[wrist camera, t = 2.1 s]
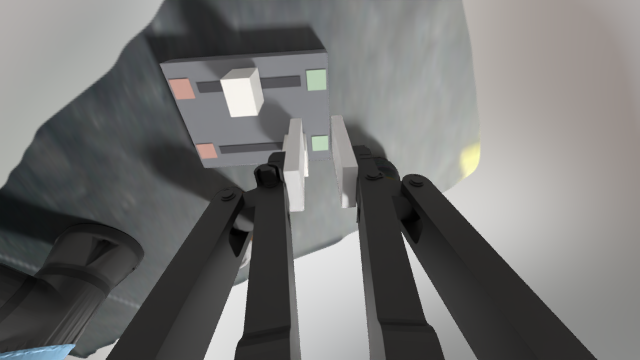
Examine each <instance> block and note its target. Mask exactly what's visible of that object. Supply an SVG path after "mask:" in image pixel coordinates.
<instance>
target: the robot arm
mask: <svg viewBox="0 0 640 360" xmlns="http://www.w3.org/2000/svg"><path fill="white" fill-rule="evenodd" d="M331 138H332V154H333V159H334V165H335V170H336V176H337V182H338V187H339V193H340V198H341V204H342V208H349V207H356V202H357V206H358V207H357V222H356V223H358V228H359V239H360V250H361V261H362V272H363V283H364V293H365V305H366V316H367V327H368V337H369V349H370V360H445V359H444V355H443V352H442V349H441V345H440V342H439V339H438V337H437V334H436V332H435V330H434V329H433V327H432V326H431V325H429V324H428V323H427V321H426V319H425V316H424V313H423V309H422V305H421V302H420V299H419V295H418V291H417V287H416V284H415V280H414V277H413V273H412V269H411V266H410V262H409V259H408V255H407V251H406V248H405V244H404V240H403V237H402V233H403V235H404V237H405V238H406V240H407V242H408V243H409V245H410V247H411V248H412V250H413V252H414V253H415V255H416V257H417V258H418V260H419V262H420V263H421V265H422V267H423V268H424V270H425V272H426V273H427V275H428V277H429V278H430V280H431V282H432V283H433V285H434V287H435V288H436V290H437V292H438V294H439V295H440V297H441V299H442V300H443V302H444V304H445V305H446V307H447V309H448V310H449V312H450V314H451V315H452V317H453V319H454V320H455V322H456V324H457V325H458V327H459V329H460V331H461V332H462V333H463V336H464V337H465V339H466V340H467V342H468V344H469V346H470V347H471V349H472V351H473V352H474V354H475V356H476V357H477V359H478V360H597V359H596V358H595V357H594V356H593V355H592V354H591V353H590V351H588V350H587V348H586V347H585V346H584V345H583V344H582V343H581V342H580V341H579V340H578V339H577V338H576V336H574V334H573V333H572V332H571V331H570V330H569V329H568V328H567V327H566V326H565V325H564V324H563V323H562V322H561V320H560V319H559V318H558V317H557V316H556V315H555V314H554V313H553V312H552V311H551V310H550V309H549V308H548V307H547V306H546V305H545V303H544V302H543V301H542V300H541V299H540V298H539V297H538V296H537V295H536V294H535V293H534V292H533V290H532V289H530V287H529V286H528V285H527V284H526V283H525V282H524V281H523V280H522V279H521V278H520V277H519V276H518V274H517V273H516V272H515V271H514V270H513V269H512V268H511V267H510V266H509V265H508V264H507V263H506V262H505V261H504V260H503V258H502V257H501V256H500V255H499V254H498V253H497V252H496V251H495V250H494V249H493V248H492V247H491V246H490V244H489V243H488V242H487V241H486V240H485V239H484V238H483V237H482V236H481V235H480V234H479V233H478V232H477V231H476V230H475V229H474V227H472V225H470V223H469V222H468V221H467V220H466V219H465V218H464V217H463V216H462V215H461V214H460V212H459V211H458V210H457V209H456V208H455V207H454V206H453V205H452V204H451V203H450V202H449V201H448V200H447V198H446V197H445V196H444V195H443V194H442V193H441V192H440V191H439V190H438V189H437V188H436V187H435V186H434V185H433V183H432V182H431V181H430V180H429V179H427V178H426V177H424V176H422V175H418V174H409V175H406V176H404V177H403V179H402V181H398V180H392V179H388V178H386V176H385V174H384V173H383V172H381V171H379V170H378V168H377V166H376V164H375V161H374V159H373V157H372V155H371V152H370V150H369V149H368V148H367V147H366V146H364V145H361V146H351V143H350V140H349V137H348V134H347V131H346V127H345V124H344V121H343V118H342V115H337V116H331ZM304 165H305V150H304V141H303V131H302V122H301V118H294V119H290V126H289V133H288V141H287V148H286V151H283V152H273V153H272V154H271V155H270V156H269V158H268V163H266V164H262V165H260V166H258V167H257V168H256V169H255V170H254V175H255V179H256V182H257V188H255V189H253V190H250V191H247V192H244V193H242V192H241V190H240V189H238V188H235V187H231V188H226V189H223V190H221V191H220V192H218V193H217V194H216V195H215V196H214V198H213V199H212V201H211V202H210V204H209V205H208V207H207V208H206V210H205V211H204V213H203V214H202V216H201V217H200V219H199V220H198V222H197V223H196V225H195V226H194V228H193V229H192V231H191V232H190V234H189V235H188V237H187V238H186V240H185V241H184V243H183V244H182V246H181V247H180V249H179V250H178V252H177V253H176V255H175V256H174V258H173V259H172V261H171V262H170V264H169V265H168V267H167V268H166V270H165V271H164V273H163V274H162V276H161V277H160V279H159V280H158V282H157V283H156V285H155V286H154V288H153V289H152V291H151V292H150V294H149V295H148V297H147V298H146V300H145V301H144V303H143V304H142V306H141V307H140V309H139V310H138V312H137V313H136V315H135V316H134V318H133V319H132V321H131V322H130V324H129V325H128V327H127V328H126V330H125V331H124V333H123V334H122V336H121V337H120V339H119V340H118V342H117V343H116V345H115V346H114V348H113V349H112V351H111V352H110V354H109V355H108V357H107V358H106V360H203V359H204V357H205V354H206V352H207V349H208V347H209V344H210V342H211V339H212V337H213V334H214V332H215V329H216V326H217V324H218V321H219V319H220V316H221V314H222V311H223V309H224V306H225V304H226V301H227V299H228V296H229V293H230V291H231V288H232V286H233V283H234V281H235V278H236V276H237V273H238V271H239V268H240V266H241V263H242V260H243V258H244V255H245V253H246V250H247V248H248V245H249V243H250V240H251V238H252V248H251V258H250V269H249V281H248V290H247V301H246V312H245V322H244V332H243V336H242V338H241V339H240V340H239V342H238V344H237V347H236V351H235V358H234V360H301V352H300V340H299V327H298V313H297V301H296V287H295V274H294V261H293V247H292V234H291V221H290V214H289V206H290V212H293V211H304ZM401 232H402V233H401ZM252 235H253V237H252ZM143 257H144V251H143V249H142V247H141V246H140V244H139V243H138V242H137V241H135V240H134V239H133V238H131V237H130V236H128V235H127V234H125V233H123V232H121V231H118V230H116V229H113V228H110V227H106V226H102V225H96V224H78V225H74V226H71V227H69V228H67V229H66V230H65V231H64V232H63V233H62V234H61V235H60V236H59V237H58V238H57V239H56V241H55V243H54V246H53V248H52V250H51V251H50V253H49V255H48V257H47V259H46V261H45V262H44V264H43V266H42V268H41V269H40V270H39V271H38V272H37V273H36V274H35V275H34V276H31V275H28V274H26V273H24V272H22V271H19V270H17V269H15V268H12V267H10V266H8V265H5V264H3V263H1V262H0V360H64V358H65V357H66V356H67V354H68V353H69V352H70V351H71V349H73V348H74V346H75V344H76V342H77V341H78V339H79V338H80V336H81V335H82V333H83V332H84V330H85V329H86V327H87V326H88V324H89V323H90V321H91V320H92V318H93V317H94V315H95V314H96V312H97V311H98V309H99V308H100V306H101V305H102V303H103V302H104V300H105V299H106V297H107V296H108V294H109V293H110V292H111V290H112V289H113V288H114V287H115V286H117V285H118V284H119V283H120V282H121V281H122V280H123V279H125V278H126V277H127V276H128V275H129V274H130V273H131V272H133V271H134V270H135V269H136V268H137V267H138V266H139V264H140V262H141V261H142V259H143Z"/></svg>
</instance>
